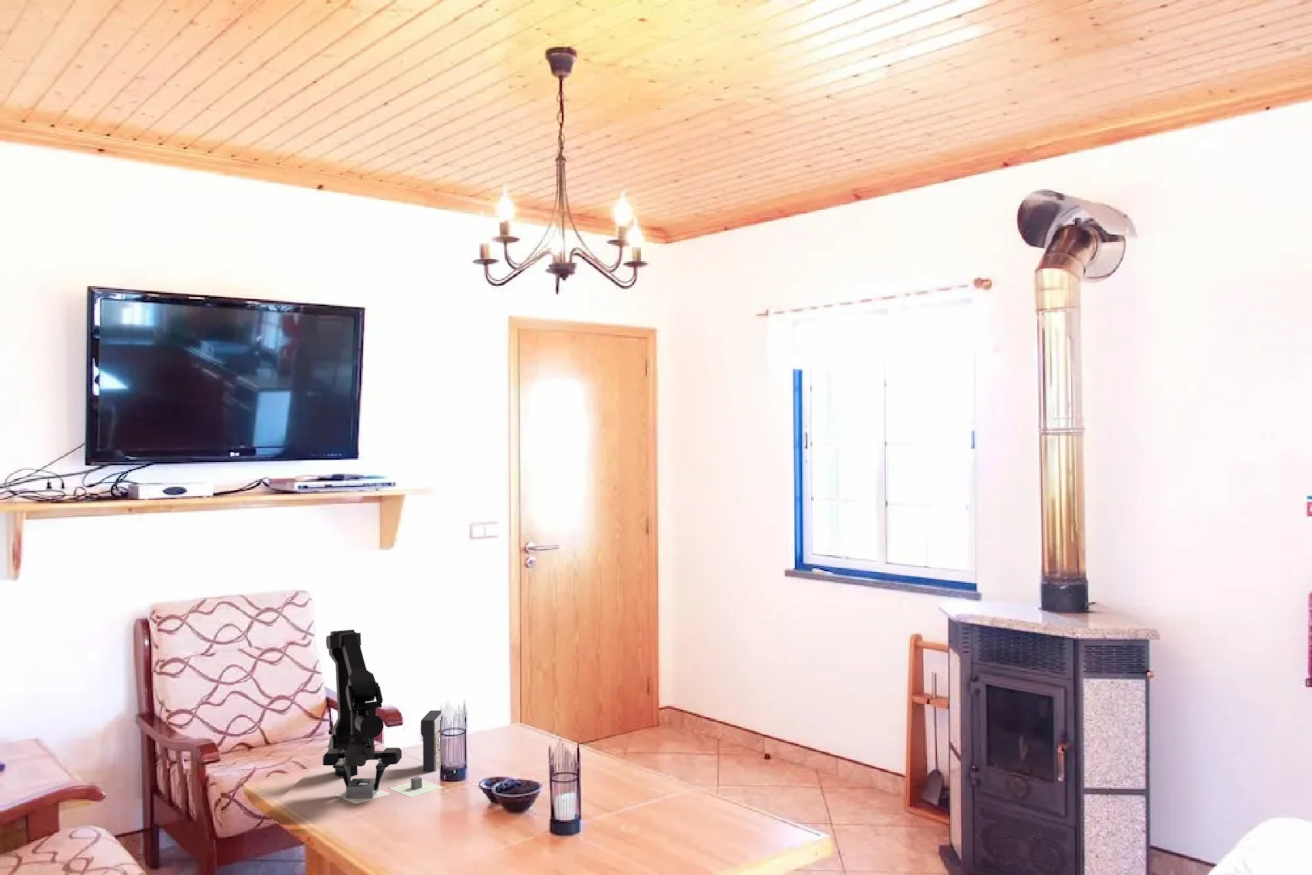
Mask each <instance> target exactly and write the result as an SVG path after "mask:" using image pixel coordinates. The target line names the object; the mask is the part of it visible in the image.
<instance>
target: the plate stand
mask: <svg viewBox="0 0 1312 875" xmlns="http://www.w3.org/2000/svg"><path fill="white" fill-rule="evenodd" d="M359 785H368V783H360V784H359ZM389 795H391V793H389V792H387V791H385V790H382V789H380V788H379V790H378V792H377V793H376V794H375V796H374V797H373V798H370V799H346V791H343V792H340V793H336V794H335V796H336V797H339V798H341V799H343V800H346V801H347V802H350V803H352V804H354V805H358V804H361V803H364V802H367V801H370V800H375V799H379V798H382V797H386V796H389Z"/></svg>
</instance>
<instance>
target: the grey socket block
mask: <svg viewBox="0 0 1312 875" xmlns="http://www.w3.org/2000/svg"><path fill="white" fill-rule="evenodd" d="M375 780H376V777H373V778H372V777H371V778H370V777H369V778H368V777H367V778H366V777H365V778H364V777H363V778H362V777H361V778H360V777H359V778H358V777H357V778H352V779H351V782H350V783H349V784H348V785H347V786H346V785H345V792H346V799H370V798H373V797H374V796H375V794H376V793H377V792H378V790H379V789H380V786H379V787H378V790H375ZM360 783H368V785H359V784H360Z"/></svg>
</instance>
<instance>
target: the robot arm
mask: <svg viewBox="0 0 1312 875" xmlns="http://www.w3.org/2000/svg"><path fill="white" fill-rule="evenodd" d="M325 645H326V649H328V655H329V657H330V658H331V660H332V661H333V662H334V664H335V681H336V702H337V705H336V706H337V718H336V721H335V723H334V725H333V727H332V728H331V729H332V730H331V733H332V734H331V735H330V737H329V738H330V739H329V742H328V745H327V748H328V750H327V752H326V753H324V755H323V756H322V765H323V766H327V767H328V766H332V769H334V775H335V776H337V777H342V779H343V782H344V784H345V787H346V786H347V785H348V784H349V783H350V782H351V781H352V779H351V778H352V777H356V776H358V767H364V766H366V764H367V761H377V762H378V763H377V764H376V765H375V772H376V773H375V778H376V780H375V790H378V787H379V788H380V783H381V781H382V778H383V775H384V772H385V770H386V768H388V767H389V766H390V765H397V764H398V763H399V762H400V761H401V759H402V753H403V751H402V749H401V748H400V747H385V749H384V750H383V751H376V746H375V738H377V737H378V736H380V734H382V732H383V730H384V721H383V718H382V717H380V715H378V714H377V709H380V708H382V707H383V701H384V700H383V699H384V698H383V696H382V690H381V686H379V683H378V681H376V679H375V676H374V673H372V672H371V671H370V670H368V669H367V666H366V662H365V659H364V655H363V651H362V648H361V646H362V634H361V632H356V631H355V630H354V629H344V630H334V631H333V630H332V631H330V633H329V635H326V639H325Z"/></svg>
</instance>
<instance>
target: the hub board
mask: <svg viewBox="0 0 1312 875" xmlns="http://www.w3.org/2000/svg"><path fill="white" fill-rule="evenodd" d="M443 788H444V786H442V785H438V784H436V783H434V782H430V781H428V780H426V779H423V778H422V777H420V776H414V777H411V778H410V782H407V783H404V784H399V785H397V786H393V787H390V788H388V789H389V790H391V791H393V792H396V793H399V794H402V795H404V796H407V797H408V798H414V797H416V796H420V795H424V794H427V793H430V792H431V793H432V792H434V791H437V790H440V789H443ZM442 791H443V792H445V790H444V789H443V790H442Z"/></svg>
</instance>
